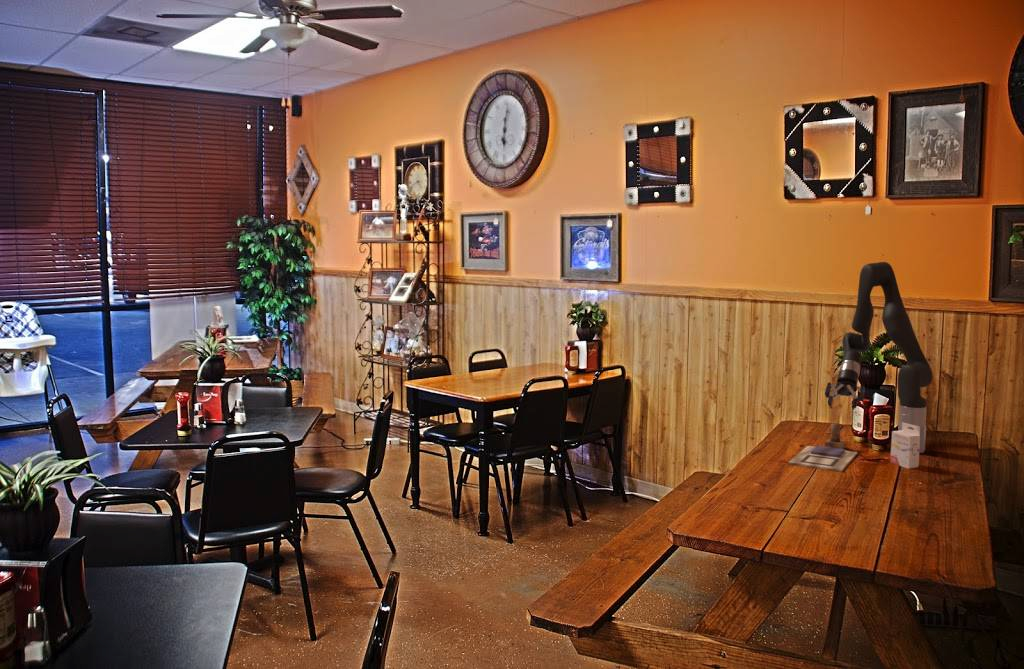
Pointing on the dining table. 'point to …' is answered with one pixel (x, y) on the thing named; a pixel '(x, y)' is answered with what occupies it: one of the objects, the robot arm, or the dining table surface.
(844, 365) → the robot arm
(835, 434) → the hand stamp
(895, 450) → the ink cartridge box
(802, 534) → the dining table surface
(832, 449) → the stamping board
